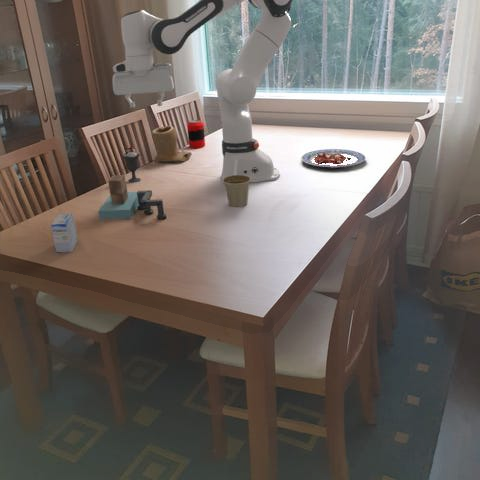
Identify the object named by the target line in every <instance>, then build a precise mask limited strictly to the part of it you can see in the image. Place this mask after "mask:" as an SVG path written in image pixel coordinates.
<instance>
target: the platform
mask: <svg viewBox="0 0 480 480" xmlns="http://www.w3.org/2000/svg"><path fill="white" fill-rule="evenodd" d="M127 193H128V199H127V200H126V202H125V203H124V204H112V202H111V195H110V194H109V196H108V197H107V199H105V201H104V203H103V204H101V206H100V208H99V209H98V212H97V213H98V218H99V220H100V221H102V220H129V219H131V218H132V217H133V215H134V214H135V212H136V210H137V206H139V204H138V197H137V191H127Z"/></svg>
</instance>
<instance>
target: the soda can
mask: <svg viewBox="0 0 480 480" xmlns="http://www.w3.org/2000/svg"><path fill="white" fill-rule="evenodd" d="M186 126H187V136H188V137H187V138H188V147H189V148H190V149H195V150H196V149H198V148H199V149H203V148H205V147H206V139H205V127H204V126H205V125H204V122H203V121H202V120H199V119H192V120H189V121H188V123H187V125H186ZM204 146H205V147H204Z"/></svg>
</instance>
